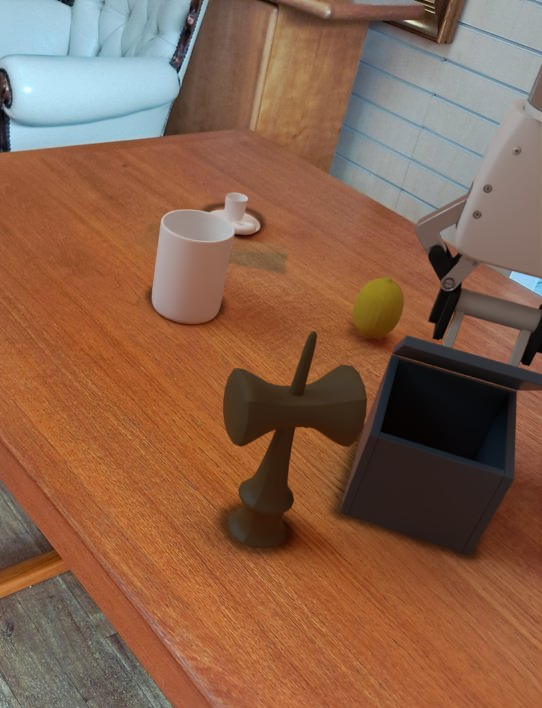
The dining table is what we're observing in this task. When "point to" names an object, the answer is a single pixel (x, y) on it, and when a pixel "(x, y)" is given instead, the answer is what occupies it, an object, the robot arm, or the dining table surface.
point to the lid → (473, 364)
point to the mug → (191, 265)
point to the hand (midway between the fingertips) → (481, 342)
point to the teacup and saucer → (238, 214)
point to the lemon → (378, 307)
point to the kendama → (285, 435)
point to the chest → (434, 455)
